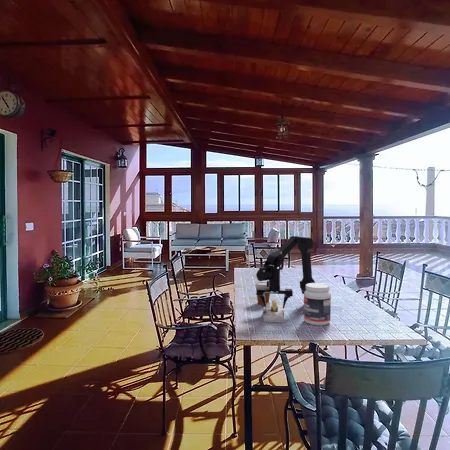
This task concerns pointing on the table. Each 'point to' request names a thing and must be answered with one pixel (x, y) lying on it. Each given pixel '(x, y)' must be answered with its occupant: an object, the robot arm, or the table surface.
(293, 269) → the table surface
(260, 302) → the disposable coffee cup
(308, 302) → the supplement tub
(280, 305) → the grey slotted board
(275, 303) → the tan pronged block
